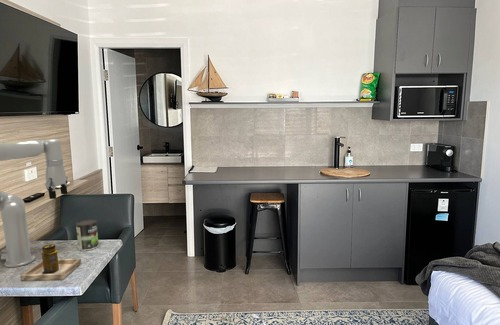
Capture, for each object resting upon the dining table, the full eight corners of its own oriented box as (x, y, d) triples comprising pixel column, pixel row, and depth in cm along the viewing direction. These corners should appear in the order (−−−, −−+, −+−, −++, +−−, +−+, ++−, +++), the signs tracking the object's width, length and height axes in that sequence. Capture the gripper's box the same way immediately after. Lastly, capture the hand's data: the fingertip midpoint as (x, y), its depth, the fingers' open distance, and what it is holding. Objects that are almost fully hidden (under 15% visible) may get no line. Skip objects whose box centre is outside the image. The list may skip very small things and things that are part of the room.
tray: (21, 281, 150) (20, 275, 149) (43, 264, 166) (42, 259, 166) (62, 280, 150) (62, 274, 149) (81, 263, 166) (80, 258, 165)
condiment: (59, 266, 162) (57, 241, 161) (60, 273, 155) (57, 247, 153) (42, 270, 159) (38, 245, 157) (42, 277, 152) (38, 251, 150)
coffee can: (103, 244, 190) (100, 219, 188) (89, 251, 180) (87, 225, 178) (87, 242, 193) (85, 218, 191) (73, 250, 183) (70, 224, 181)
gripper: (57, 161, 182) (61, 192, 185) (36, 166, 165) (40, 200, 168) (71, 160, 182) (75, 192, 184) (51, 166, 165) (55, 200, 167)
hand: (58, 196), depth 176 cm, fingers open, 9 cm apart
